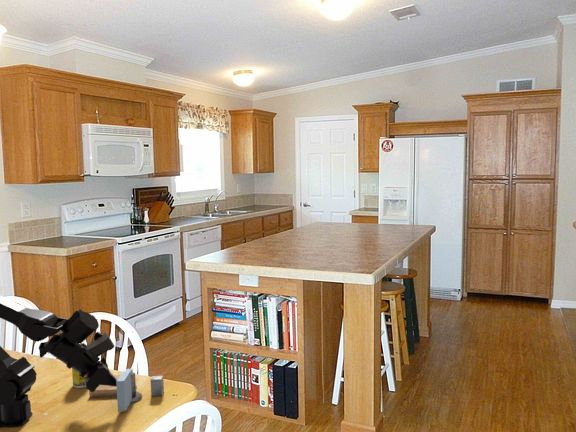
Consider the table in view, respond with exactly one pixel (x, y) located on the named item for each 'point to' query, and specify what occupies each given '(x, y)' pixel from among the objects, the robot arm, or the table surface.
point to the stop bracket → (157, 386)
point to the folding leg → (124, 390)
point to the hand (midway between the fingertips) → (118, 384)
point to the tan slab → (112, 390)
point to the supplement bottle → (78, 379)
